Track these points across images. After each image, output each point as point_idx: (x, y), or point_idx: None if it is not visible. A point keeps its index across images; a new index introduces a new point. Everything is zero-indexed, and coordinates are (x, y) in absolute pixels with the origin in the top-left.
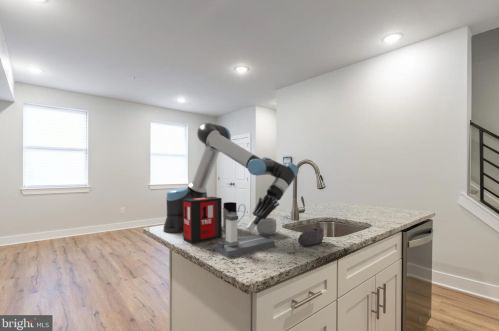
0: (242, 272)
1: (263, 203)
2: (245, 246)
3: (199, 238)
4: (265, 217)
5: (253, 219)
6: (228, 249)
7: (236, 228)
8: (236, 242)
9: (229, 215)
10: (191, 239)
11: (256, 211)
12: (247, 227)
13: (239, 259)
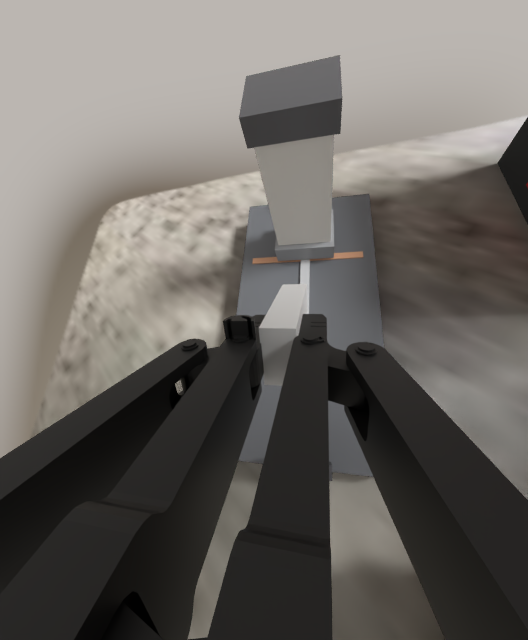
0: (151, 217)
1: (237, 547)
2: (250, 279)
3: (526, 174)
4: (182, 395)
5: (278, 310)
6: (266, 215)
7: (267, 191)
8: (276, 242)
9: (297, 75)
10: (513, 141)
11: (319, 365)
12: (292, 284)
13: (219, 245)
